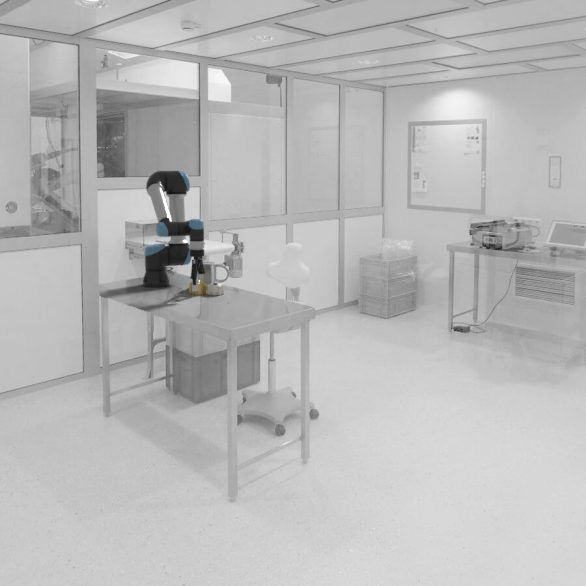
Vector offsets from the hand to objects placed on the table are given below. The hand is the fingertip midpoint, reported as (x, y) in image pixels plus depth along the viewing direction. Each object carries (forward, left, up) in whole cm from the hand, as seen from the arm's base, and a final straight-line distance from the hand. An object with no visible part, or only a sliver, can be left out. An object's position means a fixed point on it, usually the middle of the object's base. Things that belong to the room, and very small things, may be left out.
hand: (197, 288), depth 350 cm
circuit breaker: (-20, +1, -4) cm, 20 cm away
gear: (0, +10, -3) cm, 10 cm away
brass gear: (0, 0, -3) cm, 3 cm away
